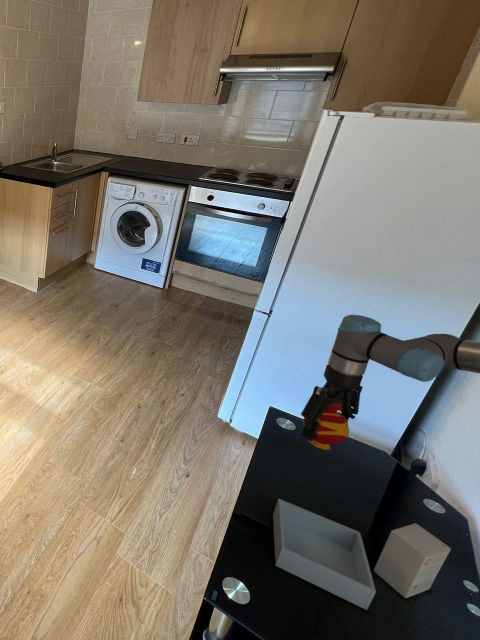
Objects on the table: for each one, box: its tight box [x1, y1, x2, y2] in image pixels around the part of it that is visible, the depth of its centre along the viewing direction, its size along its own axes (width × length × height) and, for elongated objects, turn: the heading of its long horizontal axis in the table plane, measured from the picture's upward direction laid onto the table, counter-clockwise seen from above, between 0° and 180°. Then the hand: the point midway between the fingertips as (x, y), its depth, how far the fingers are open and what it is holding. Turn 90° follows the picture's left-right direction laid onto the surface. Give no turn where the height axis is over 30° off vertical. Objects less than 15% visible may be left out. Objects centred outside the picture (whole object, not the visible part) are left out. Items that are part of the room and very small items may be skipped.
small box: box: [373, 522, 451, 599], centre depth 92 cm, size 8×6×13 cm
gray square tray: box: [272, 498, 377, 611], centre depth 97 cm, size 16×16×6 cm
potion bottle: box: [302, 396, 350, 451], centre depth 116 cm, size 10×10×15 cm
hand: (321, 435), depth 117 cm, fingers closed on potion bottle, 10 cm apart
